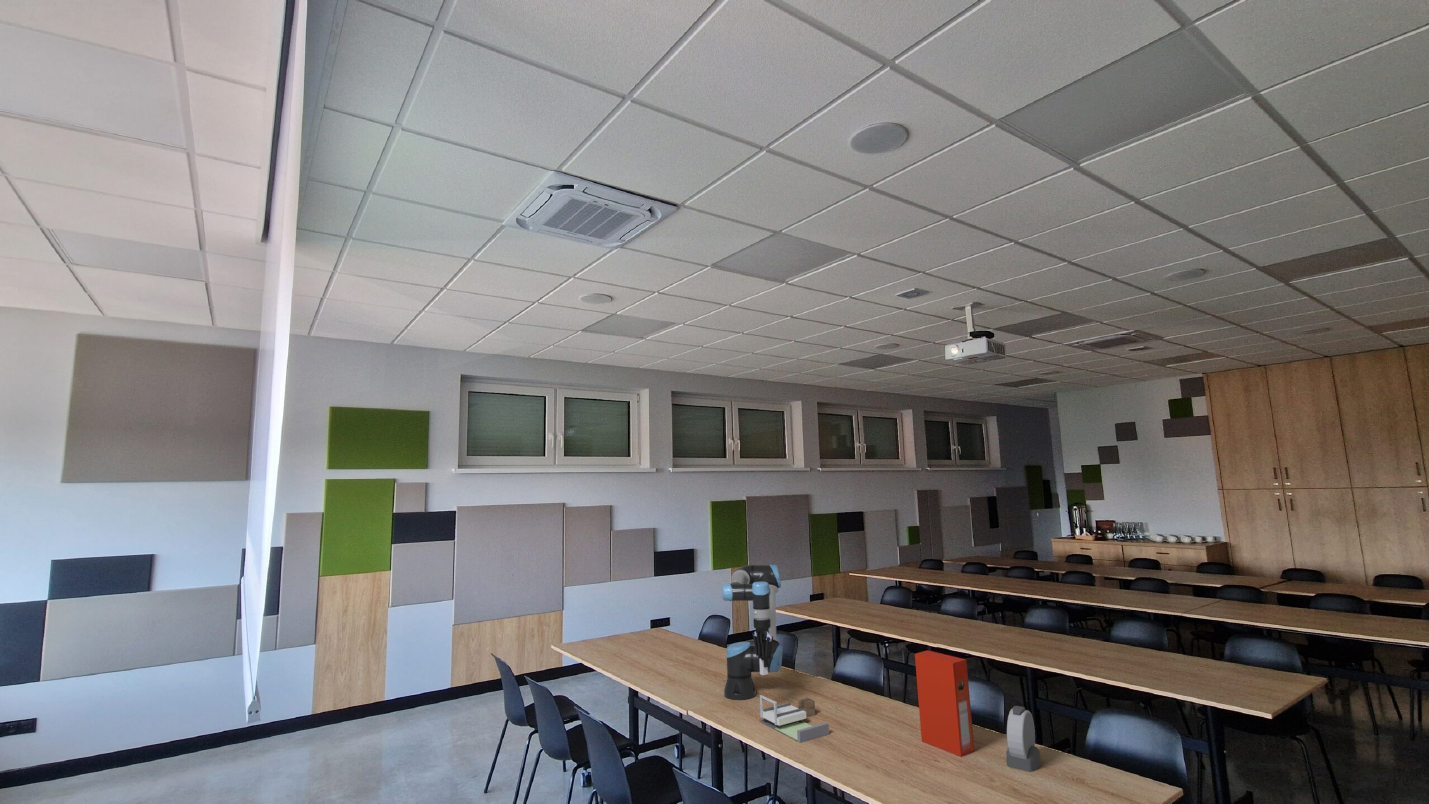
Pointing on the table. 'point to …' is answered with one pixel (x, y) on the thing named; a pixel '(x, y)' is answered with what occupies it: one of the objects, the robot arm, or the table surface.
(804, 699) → the block
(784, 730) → the grey holder base
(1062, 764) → the table surface
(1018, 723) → the grey two-tone upright device
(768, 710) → the white tray
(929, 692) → the file binder
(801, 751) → the table surface
